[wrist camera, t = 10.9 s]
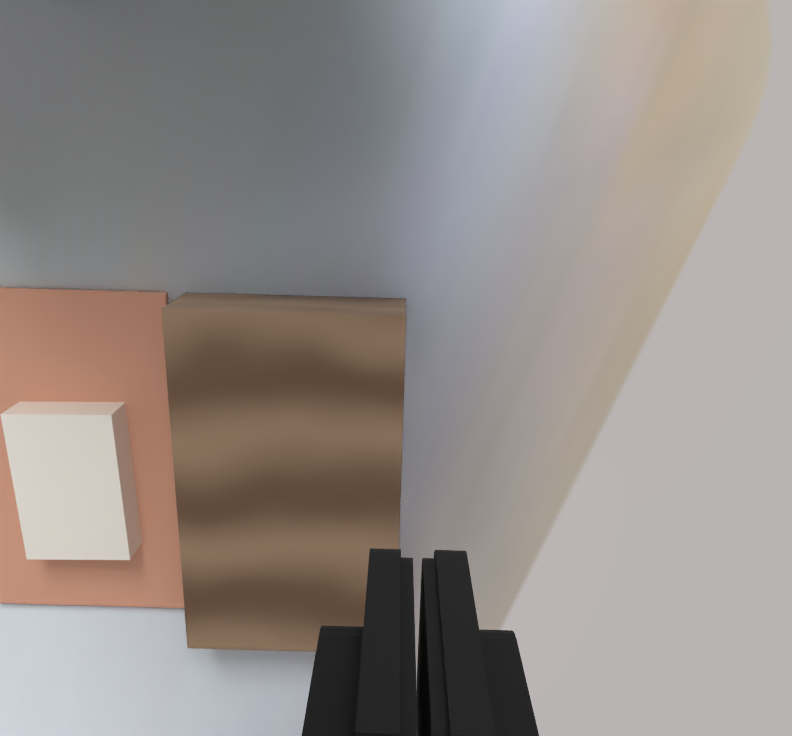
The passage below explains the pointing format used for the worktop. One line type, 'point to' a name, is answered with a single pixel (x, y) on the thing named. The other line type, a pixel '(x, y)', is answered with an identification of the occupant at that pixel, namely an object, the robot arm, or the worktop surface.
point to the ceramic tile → (73, 479)
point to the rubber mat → (93, 382)
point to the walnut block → (282, 460)
